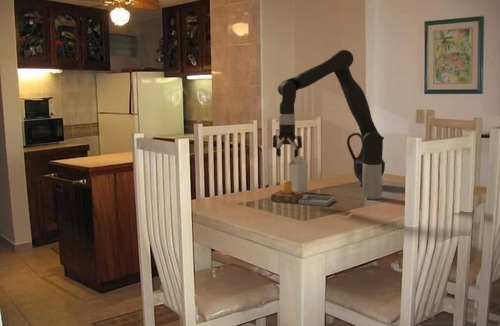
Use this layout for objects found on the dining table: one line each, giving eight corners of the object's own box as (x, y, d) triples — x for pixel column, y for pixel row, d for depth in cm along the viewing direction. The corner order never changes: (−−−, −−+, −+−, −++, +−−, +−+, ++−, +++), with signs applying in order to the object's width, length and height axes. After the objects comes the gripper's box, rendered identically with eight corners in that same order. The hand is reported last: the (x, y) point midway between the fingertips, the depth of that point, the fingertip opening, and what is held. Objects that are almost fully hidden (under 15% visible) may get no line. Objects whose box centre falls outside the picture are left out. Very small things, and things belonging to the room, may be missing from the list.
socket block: (303, 199, 250) (303, 191, 250) (294, 204, 239) (294, 196, 239) (280, 197, 255) (280, 190, 255) (271, 202, 245) (271, 194, 244)
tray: (334, 202, 244) (334, 196, 244) (326, 207, 232) (326, 202, 232) (307, 199, 250) (307, 194, 249) (298, 205, 238) (298, 200, 237)
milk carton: (288, 192, 270) (288, 156, 267) (298, 190, 274) (298, 155, 271) (297, 194, 264) (297, 158, 262) (307, 192, 268) (307, 156, 266)
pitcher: (385, 189, 273) (386, 134, 269) (346, 188, 277) (346, 134, 273) (383, 183, 290) (384, 131, 286) (346, 182, 294) (347, 131, 290)
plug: (293, 200, 248) (292, 180, 247) (289, 202, 244) (289, 182, 243) (284, 199, 250) (284, 180, 249) (281, 201, 246) (281, 181, 245)
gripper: (303, 123, 242) (303, 156, 244) (276, 122, 248) (276, 155, 251) (298, 124, 236) (298, 158, 238) (270, 123, 242) (270, 157, 244)
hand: (287, 156), depth 244 cm, fingers open, 8 cm apart
